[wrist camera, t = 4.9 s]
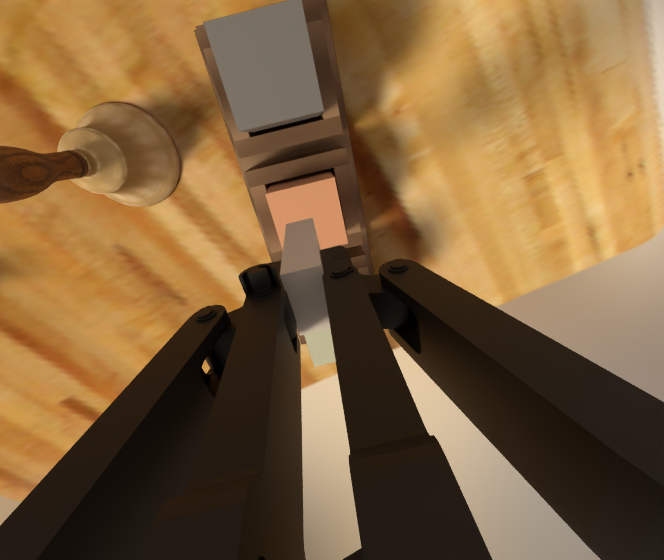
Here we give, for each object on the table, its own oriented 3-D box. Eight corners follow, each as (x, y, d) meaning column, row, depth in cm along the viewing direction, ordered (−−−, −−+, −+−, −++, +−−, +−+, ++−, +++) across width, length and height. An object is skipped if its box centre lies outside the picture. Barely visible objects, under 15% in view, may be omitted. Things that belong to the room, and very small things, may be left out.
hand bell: (112, 77, 24) (-179, -10, 9) (200, 161, 27) (83, 193, 12) (55, 154, 26) (-257, 180, 11) (144, 224, 29) (-13, 314, 14)
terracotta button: (272, 181, 27) (265, 194, 21) (327, 168, 26) (334, 177, 21) (288, 235, 29) (285, 258, 23) (339, 222, 29) (348, 243, 23)
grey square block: (229, 51, 20) (203, 22, 15) (301, 33, 20) (300, -3, 15) (253, 132, 23) (238, 131, 17) (318, 116, 23) (323, 110, 17)
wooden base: (196, 32, 23) (173, 10, 19) (324, 0, 23) (330, -30, 19) (295, 328, 35) (294, 354, 31) (379, 308, 35) (389, 331, 31)
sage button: (299, 282, 28) (298, 318, 23) (351, 270, 28) (362, 302, 23) (312, 325, 31) (314, 366, 25) (360, 314, 30) (372, 353, 25)
